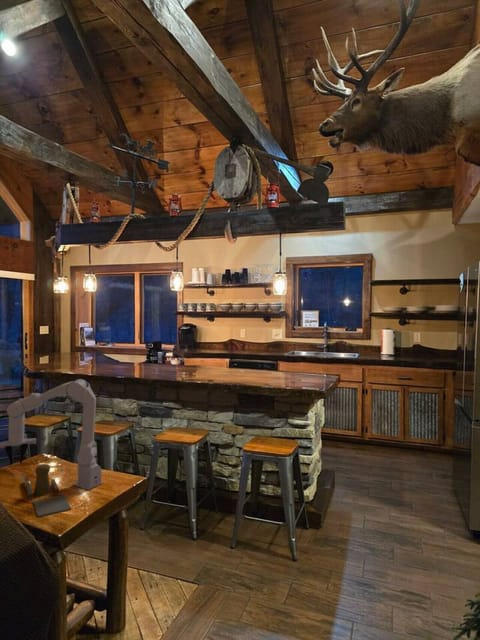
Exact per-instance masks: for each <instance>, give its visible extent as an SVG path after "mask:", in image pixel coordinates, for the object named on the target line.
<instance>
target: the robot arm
mask: <svg viewBox="0 0 480 640" xmlns="http://www.w3.org/2000/svg"><path fill="white" fill-rule="evenodd" d="M60 395H63V396H66V397H67V396H69V397H71V398H72V399H75V400H78V401H79V402H80V403H81V404H82V405H83V406H82V407H83V408H82V422H81V423H82V425H81V427H82V428H81V442H80V445H79V452H78V454H77V456H76V461H77V481H76V482H73V483H72V486H75V487H78V488H81V489H85V490H91V489H93V488H96V487H97V486H99V485H101V484H103V481H102V468H101V465H99V464H97V460H96V457H95V456H96V455H97V453H98V449H97V446H96V440H95V429H96V428H95V426H96V410H97V409H96V407H97V406H96V405H97V397H96V395H95V393H94V392H93V390H92V388H91V385H90V383H89V382H88V381H86V380H85V379H82V378H79V379H75V380H72V381H69V382H65V383H62V384H60V385H58V386H56V387H54V388H51V389H49V390H47V391H45V392H43V393H40V392H39V393H38V392H31V393H29V396H26V397H23V398H21V397H20V398H19V399H18V400H16V401H14V402H12V403H10V404H9V405H8V406H7V407H6V413H7V415H8V420H9V421H8V440H5V441H0V449H4V451H5V452H6V454H7V456H8V458H9V465H10V466H12V465H13V447H18V446H19V464H23V460H24V456H25V455H26V454H25V453H26V451H28V448H29V445H37V438H36V437H34V438H32V437H31V438H25V425H26V424H25V422H26V421H25V420H26V419H25V417H26V416H25V415H26V413H28V412H30V411H32V410H34V409H37V408H39V407H41V406H43V404H44V402H45V401H48V400H50V399H53V398H55V397H58V396H60Z"/></svg>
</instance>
